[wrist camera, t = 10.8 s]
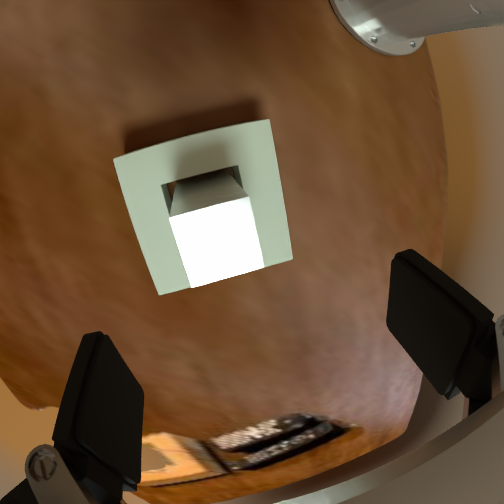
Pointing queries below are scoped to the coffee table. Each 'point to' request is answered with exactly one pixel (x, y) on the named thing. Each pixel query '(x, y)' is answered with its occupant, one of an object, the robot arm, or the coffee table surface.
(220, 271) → the steel bar
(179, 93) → the coffee table surface
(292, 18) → the coffee table surface
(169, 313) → the coffee table surface
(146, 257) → the well block
